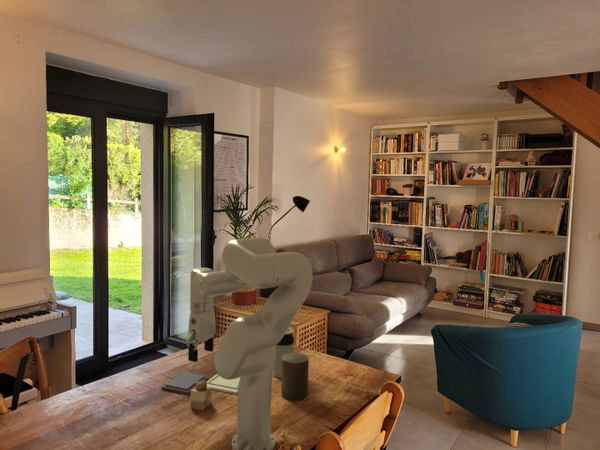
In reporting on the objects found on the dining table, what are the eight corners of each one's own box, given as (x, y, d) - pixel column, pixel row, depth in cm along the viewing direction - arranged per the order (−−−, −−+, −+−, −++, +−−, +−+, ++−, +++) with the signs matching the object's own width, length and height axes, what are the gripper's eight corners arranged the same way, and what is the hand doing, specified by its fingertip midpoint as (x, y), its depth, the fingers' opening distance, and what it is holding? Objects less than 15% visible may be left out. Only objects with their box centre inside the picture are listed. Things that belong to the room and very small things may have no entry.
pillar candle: (305, 402, 160) (306, 360, 159) (277, 398, 162) (278, 357, 160) (310, 390, 169) (311, 350, 168) (284, 387, 171) (285, 347, 170)
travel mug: (297, 375, 182) (298, 330, 180) (281, 380, 177) (282, 335, 175) (283, 368, 188) (285, 325, 186) (268, 374, 182) (269, 329, 181)
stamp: (203, 410, 152) (203, 387, 152) (190, 407, 154) (190, 384, 153) (211, 403, 157) (211, 381, 156) (198, 401, 159) (198, 378, 158)
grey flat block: (187, 394, 163) (187, 390, 163) (161, 389, 167) (161, 385, 167) (208, 379, 176) (208, 375, 176) (183, 374, 180) (183, 370, 180)
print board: (236, 394, 164) (236, 391, 164) (202, 387, 169) (202, 384, 169) (255, 376, 180) (255, 374, 179) (223, 370, 184) (223, 368, 184)
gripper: (197, 314, 143) (196, 367, 145) (224, 300, 159) (223, 348, 161) (176, 311, 145) (176, 363, 147) (205, 298, 162) (205, 345, 163)
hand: (201, 355), depth 154 cm, fingers open, 9 cm apart
